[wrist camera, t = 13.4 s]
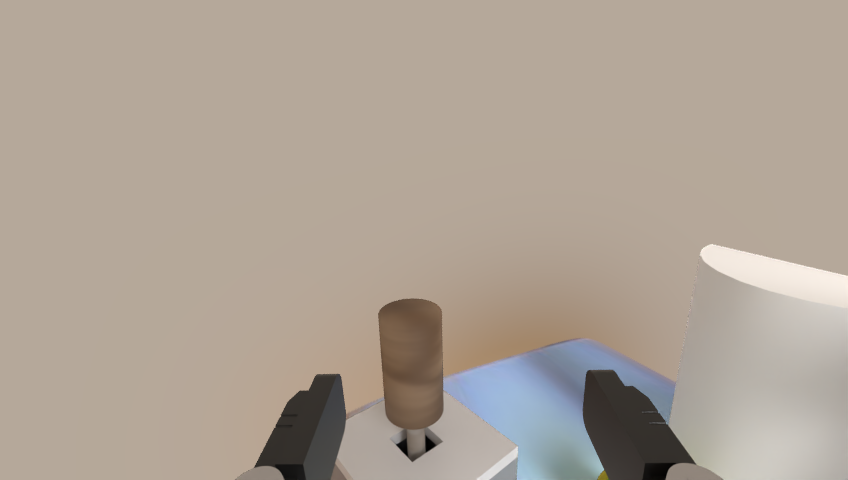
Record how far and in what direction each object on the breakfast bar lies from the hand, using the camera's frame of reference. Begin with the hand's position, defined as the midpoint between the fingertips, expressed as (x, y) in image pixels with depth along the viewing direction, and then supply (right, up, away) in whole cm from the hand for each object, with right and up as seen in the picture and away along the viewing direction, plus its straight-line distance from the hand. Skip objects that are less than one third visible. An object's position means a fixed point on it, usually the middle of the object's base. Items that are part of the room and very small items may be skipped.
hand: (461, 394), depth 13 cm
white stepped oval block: (+35, -24, +31) cm, 52 cm away
